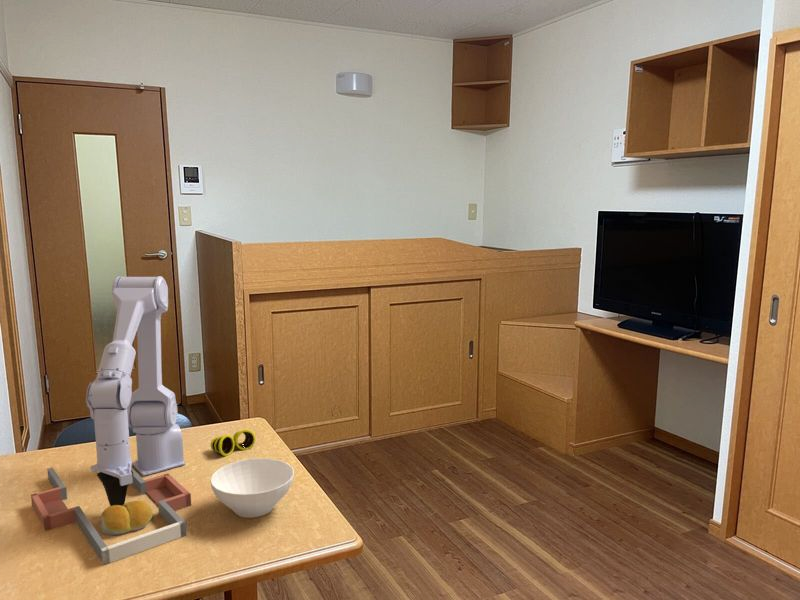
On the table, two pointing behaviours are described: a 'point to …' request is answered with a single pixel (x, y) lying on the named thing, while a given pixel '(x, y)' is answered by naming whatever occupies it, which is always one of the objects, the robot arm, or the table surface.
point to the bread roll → (125, 517)
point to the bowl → (252, 485)
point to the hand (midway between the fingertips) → (117, 506)
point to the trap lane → (57, 515)
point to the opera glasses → (232, 442)
